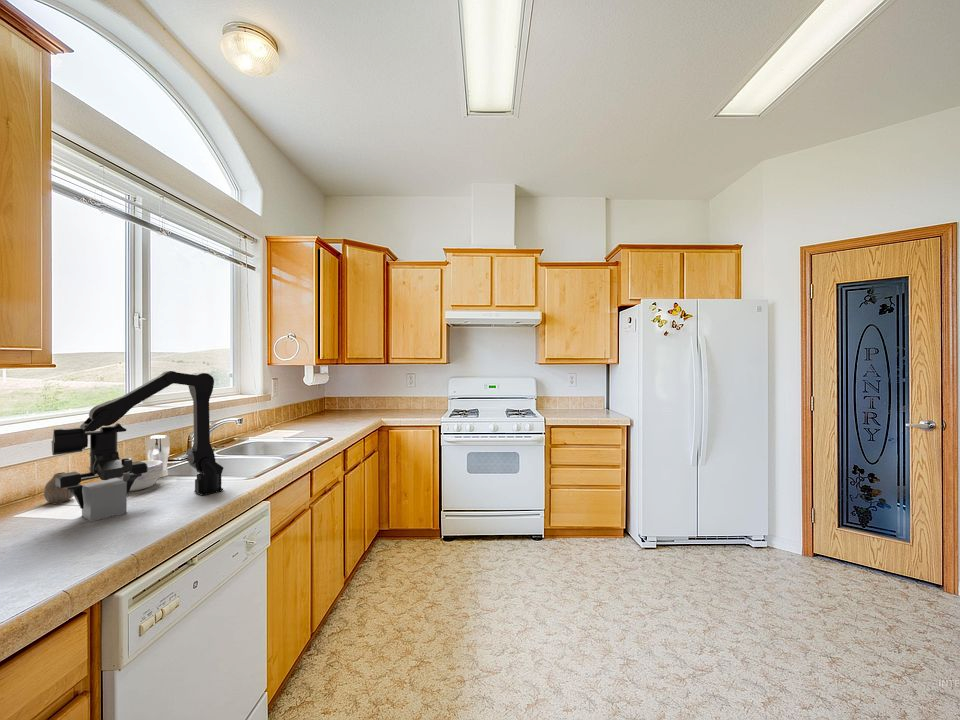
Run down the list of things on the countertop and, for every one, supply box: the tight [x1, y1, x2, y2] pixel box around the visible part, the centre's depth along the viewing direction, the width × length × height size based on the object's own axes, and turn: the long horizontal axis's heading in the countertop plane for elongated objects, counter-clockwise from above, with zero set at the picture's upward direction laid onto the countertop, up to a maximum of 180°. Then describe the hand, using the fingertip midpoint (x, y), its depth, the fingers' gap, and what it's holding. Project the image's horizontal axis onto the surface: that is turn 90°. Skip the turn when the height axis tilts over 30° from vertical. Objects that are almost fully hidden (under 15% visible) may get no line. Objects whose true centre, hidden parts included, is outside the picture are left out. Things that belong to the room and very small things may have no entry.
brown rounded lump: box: [43, 472, 74, 504], centre depth 127 cm, size 7×7×9 cm
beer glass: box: [146, 434, 171, 479], centre depth 155 cm, size 7×7×15 cm
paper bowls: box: [108, 460, 163, 492], centre depth 141 cm, size 15×15×8 cm
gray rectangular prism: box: [81, 478, 128, 522], centre depth 117 cm, size 8×8×9 cm
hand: (103, 503), depth 117 cm, fingers open, 9 cm apart
